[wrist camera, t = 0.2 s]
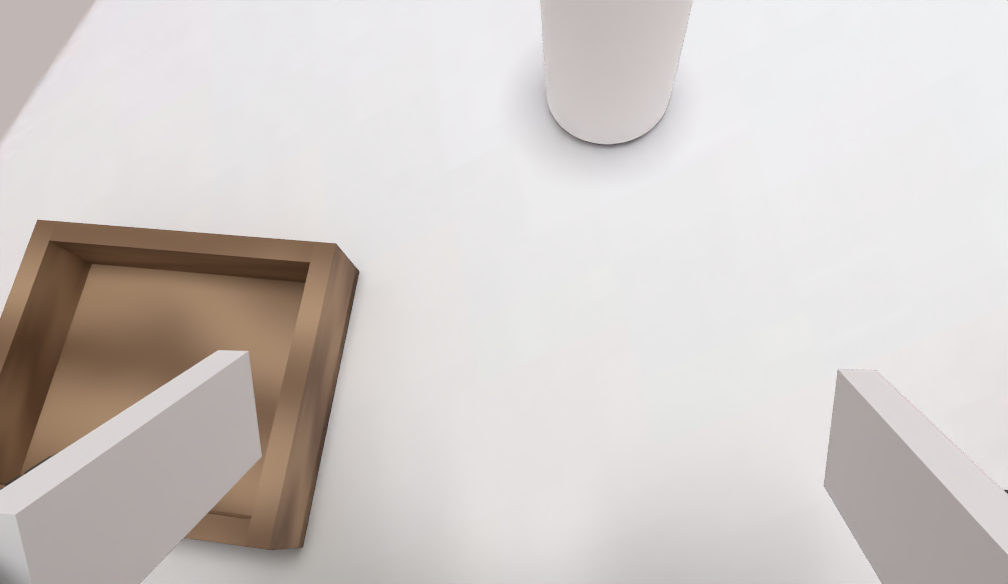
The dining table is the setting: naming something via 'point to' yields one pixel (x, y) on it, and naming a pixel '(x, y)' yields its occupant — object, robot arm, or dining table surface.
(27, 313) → the tray
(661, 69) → the can
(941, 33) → the dining table surface
